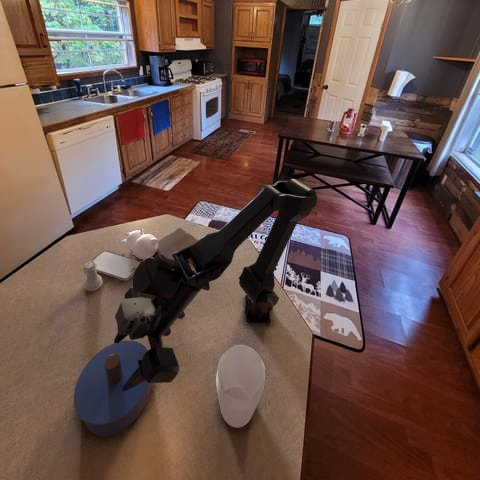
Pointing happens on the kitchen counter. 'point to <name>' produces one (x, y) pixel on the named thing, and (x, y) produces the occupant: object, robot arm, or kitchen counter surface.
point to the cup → (239, 384)
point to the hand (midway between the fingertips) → (119, 364)
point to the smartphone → (116, 265)
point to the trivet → (175, 243)
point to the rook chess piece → (92, 277)
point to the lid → (109, 384)
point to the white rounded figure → (141, 244)
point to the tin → (123, 422)
